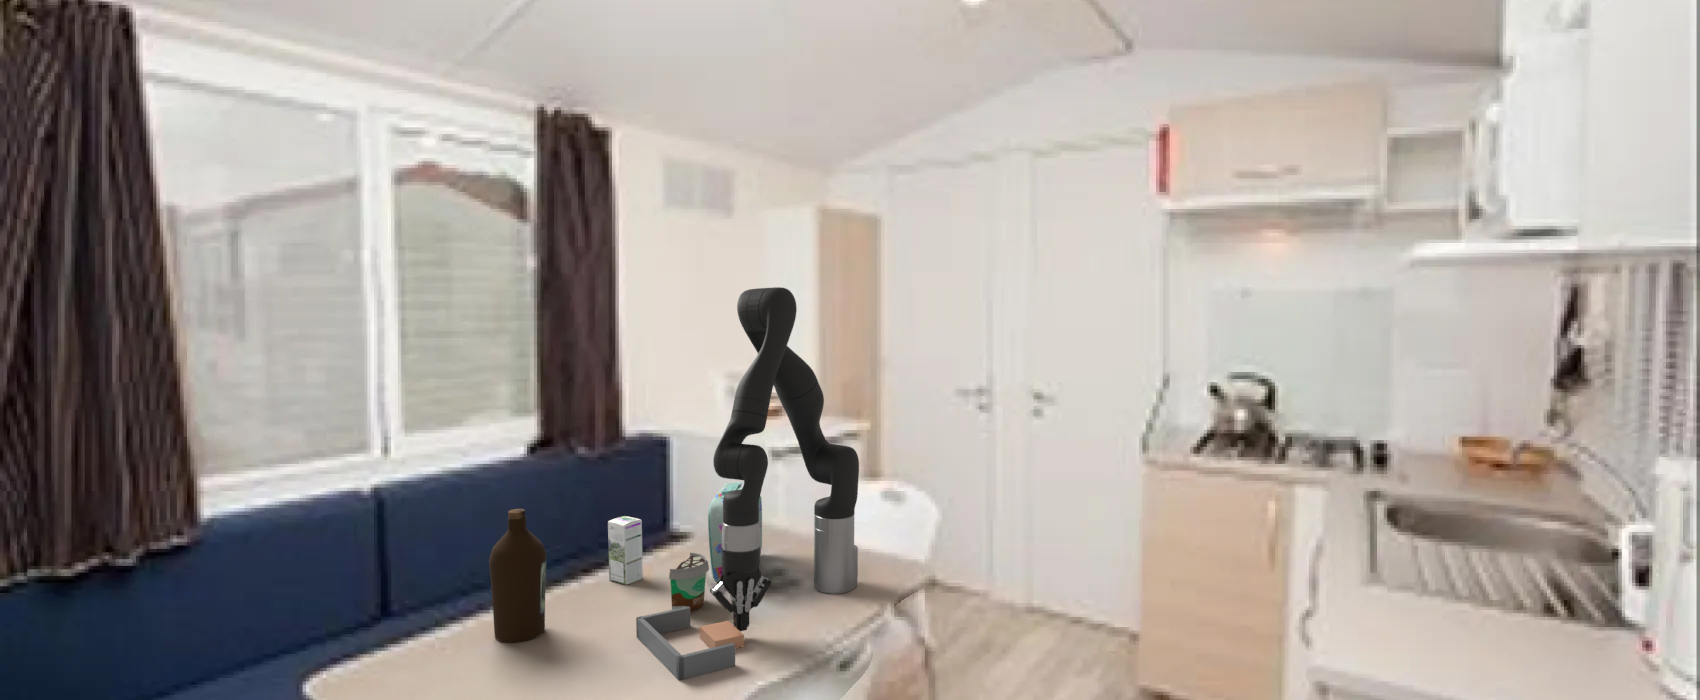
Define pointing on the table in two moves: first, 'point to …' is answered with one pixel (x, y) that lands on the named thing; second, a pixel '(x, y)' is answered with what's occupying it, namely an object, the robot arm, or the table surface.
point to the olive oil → (518, 582)
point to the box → (669, 656)
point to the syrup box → (625, 550)
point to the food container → (689, 583)
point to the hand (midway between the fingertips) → (741, 629)
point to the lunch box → (717, 524)
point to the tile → (721, 635)
